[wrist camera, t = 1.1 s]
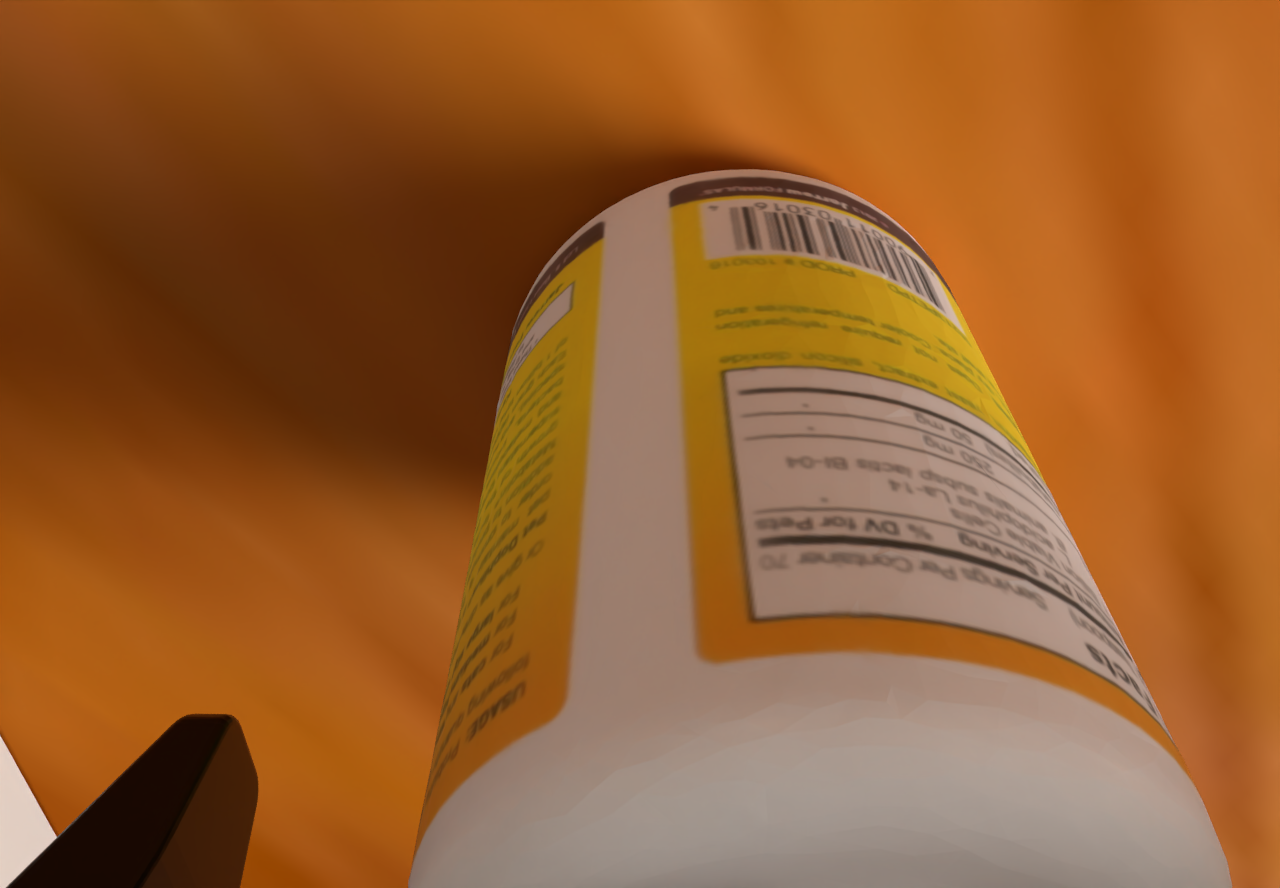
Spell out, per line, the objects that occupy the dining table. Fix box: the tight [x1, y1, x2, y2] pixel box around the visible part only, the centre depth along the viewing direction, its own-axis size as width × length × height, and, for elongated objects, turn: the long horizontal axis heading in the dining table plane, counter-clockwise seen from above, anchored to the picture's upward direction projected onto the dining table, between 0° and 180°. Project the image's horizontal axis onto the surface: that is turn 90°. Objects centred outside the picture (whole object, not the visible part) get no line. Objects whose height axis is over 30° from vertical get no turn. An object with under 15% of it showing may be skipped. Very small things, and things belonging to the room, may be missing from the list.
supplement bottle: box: [408, 169, 1232, 888], centre depth 9 cm, size 6×6×10 cm
